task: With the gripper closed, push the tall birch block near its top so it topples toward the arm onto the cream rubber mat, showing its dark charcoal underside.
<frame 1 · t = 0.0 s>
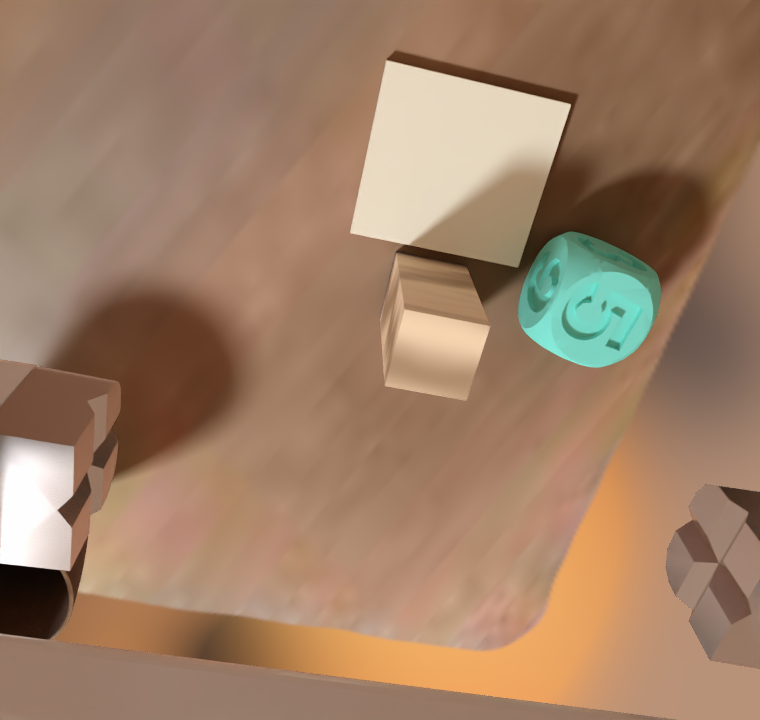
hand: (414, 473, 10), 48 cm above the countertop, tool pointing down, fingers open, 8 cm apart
plant pot: (51, 462, 67), on the countertop
decorative dice: (572, 279, 60), on the countertop
birch block: (422, 291, 60), on the countertop
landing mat: (455, 168, 56), on the countertop
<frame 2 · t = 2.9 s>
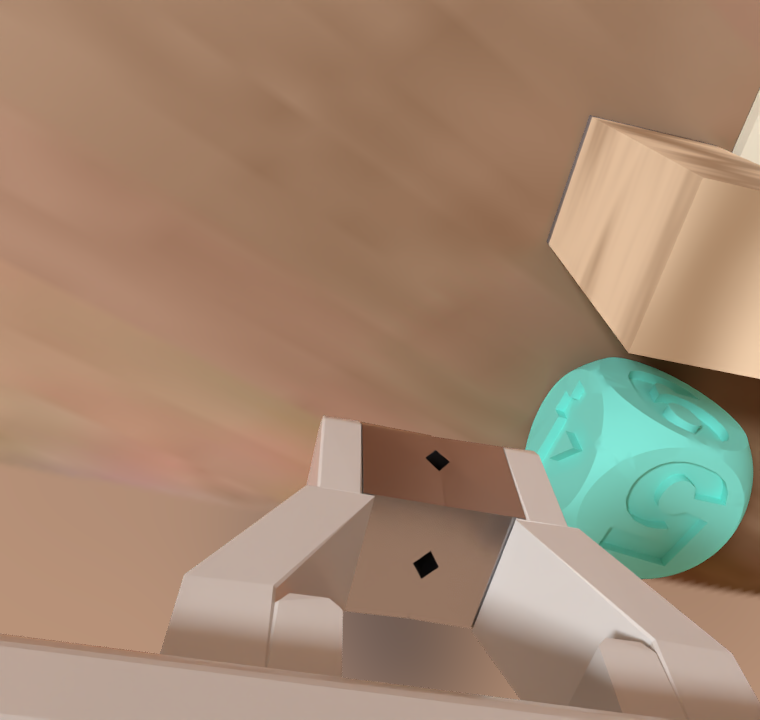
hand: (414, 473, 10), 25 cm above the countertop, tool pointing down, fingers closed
decorative dice: (604, 420, 40), on the countertop
birch block: (627, 194, 34), on the countertop
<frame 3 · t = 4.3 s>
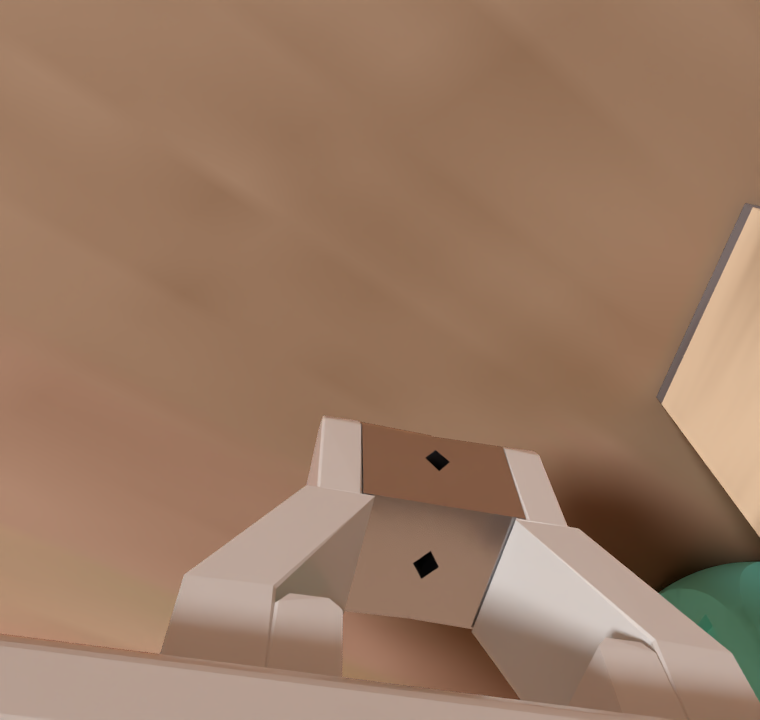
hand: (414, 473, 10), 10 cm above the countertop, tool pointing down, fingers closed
decorative dice: (722, 634, 27), on the countertop
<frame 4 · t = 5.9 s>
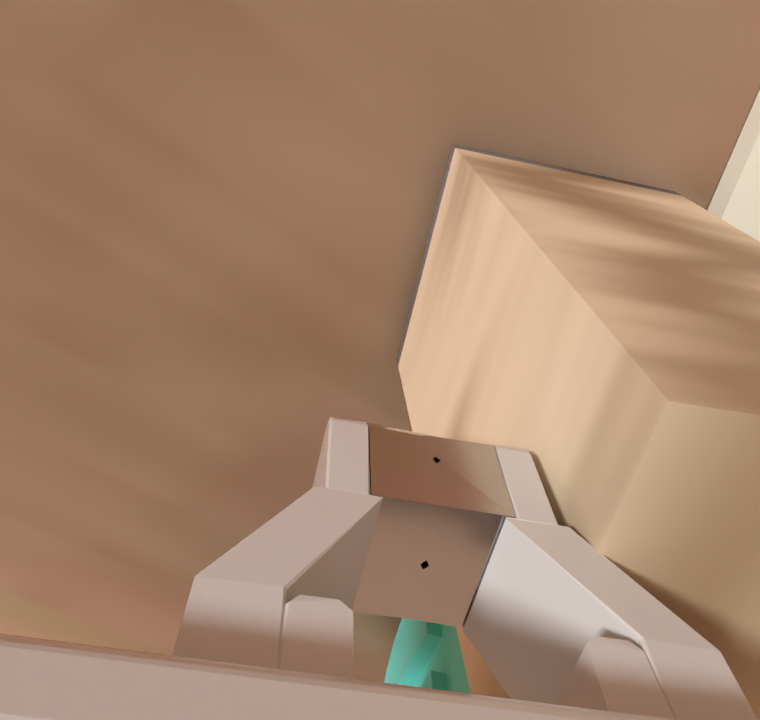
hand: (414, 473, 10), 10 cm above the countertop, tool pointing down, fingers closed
decorative dice: (517, 610, 25), on the countertop
birch block: (529, 279, 19), on the countertop, touching gripper
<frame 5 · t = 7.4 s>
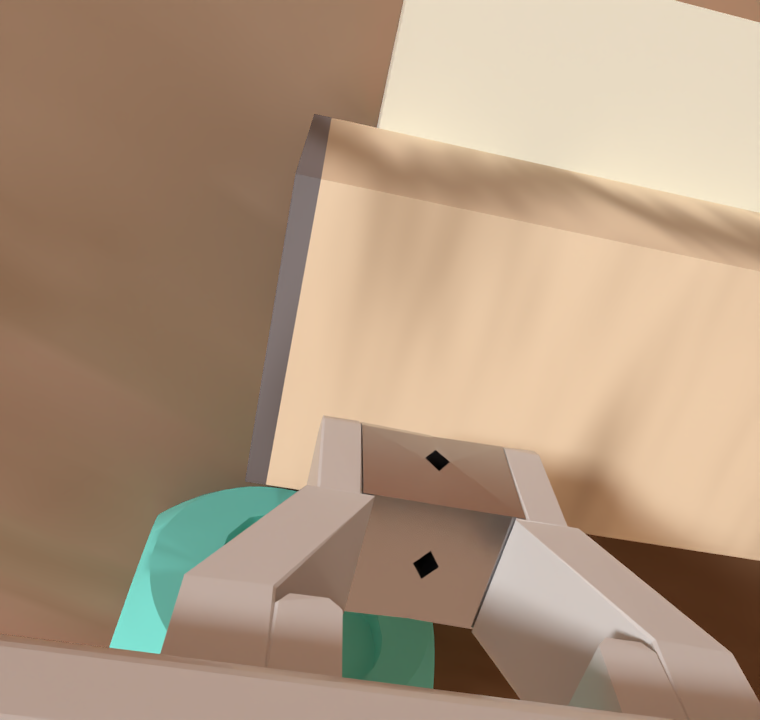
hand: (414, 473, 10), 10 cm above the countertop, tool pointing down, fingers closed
decorative dice: (268, 574, 24), on the countertop
birch block: (282, 281, 15), point 4 cm above the countertop, tilted 90°, touching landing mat
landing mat: (586, 287, 20), on the countertop
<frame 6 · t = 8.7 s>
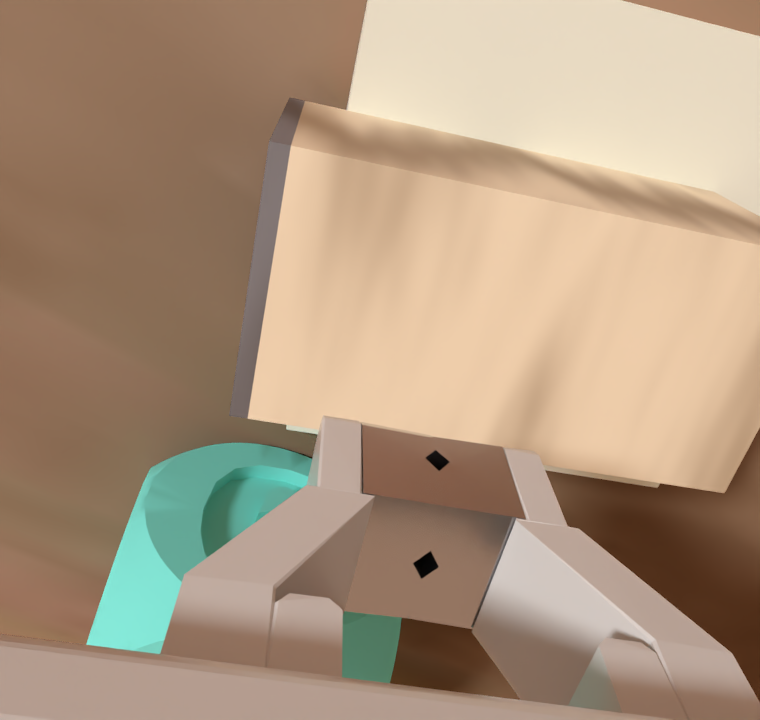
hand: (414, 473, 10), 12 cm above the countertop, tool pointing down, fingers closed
decorative dice: (254, 529, 26), on the countertop
birch block: (261, 244, 17), point 4 cm above the countertop, tilted 90°, touching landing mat
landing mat: (538, 256, 22), on the countertop
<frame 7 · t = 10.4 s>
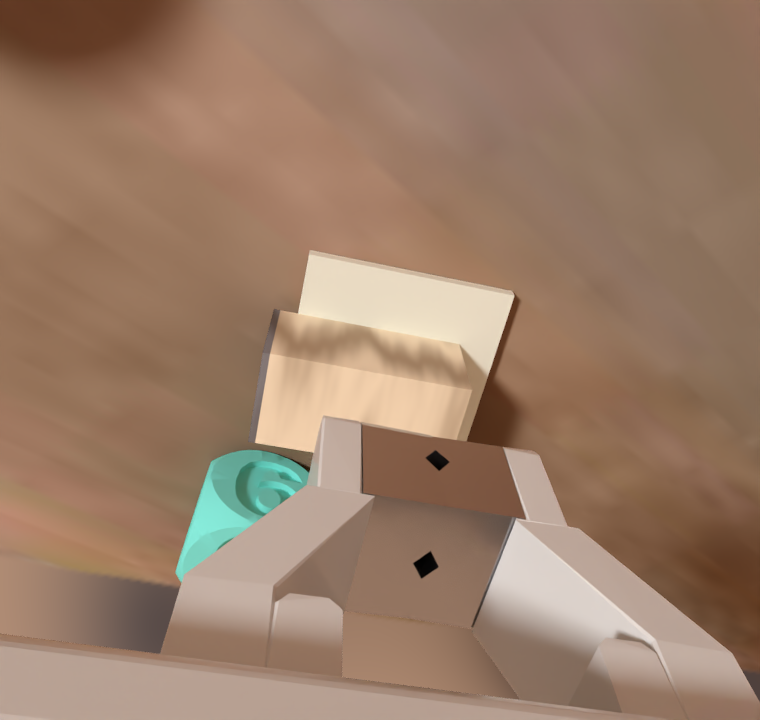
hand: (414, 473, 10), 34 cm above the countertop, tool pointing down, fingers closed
decorative dice: (258, 492, 53), on the countertop
birch block: (261, 373, 43), point 4 cm above the countertop, tilted 90°, touching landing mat
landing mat: (387, 367, 48), on the countertop
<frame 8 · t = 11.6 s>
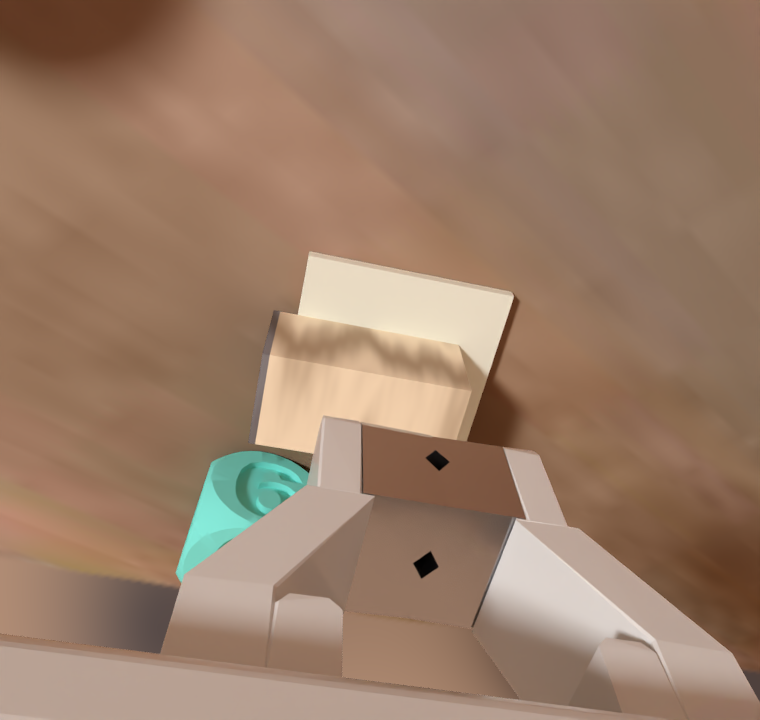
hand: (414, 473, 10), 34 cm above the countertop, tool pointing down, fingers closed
decorative dice: (259, 493, 53), on the countertop
birch block: (261, 374, 43), point 4 cm above the countertop, tilted 90°, touching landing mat
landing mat: (387, 368, 48), on the countertop
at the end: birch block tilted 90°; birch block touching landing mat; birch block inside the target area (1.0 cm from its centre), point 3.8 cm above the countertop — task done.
